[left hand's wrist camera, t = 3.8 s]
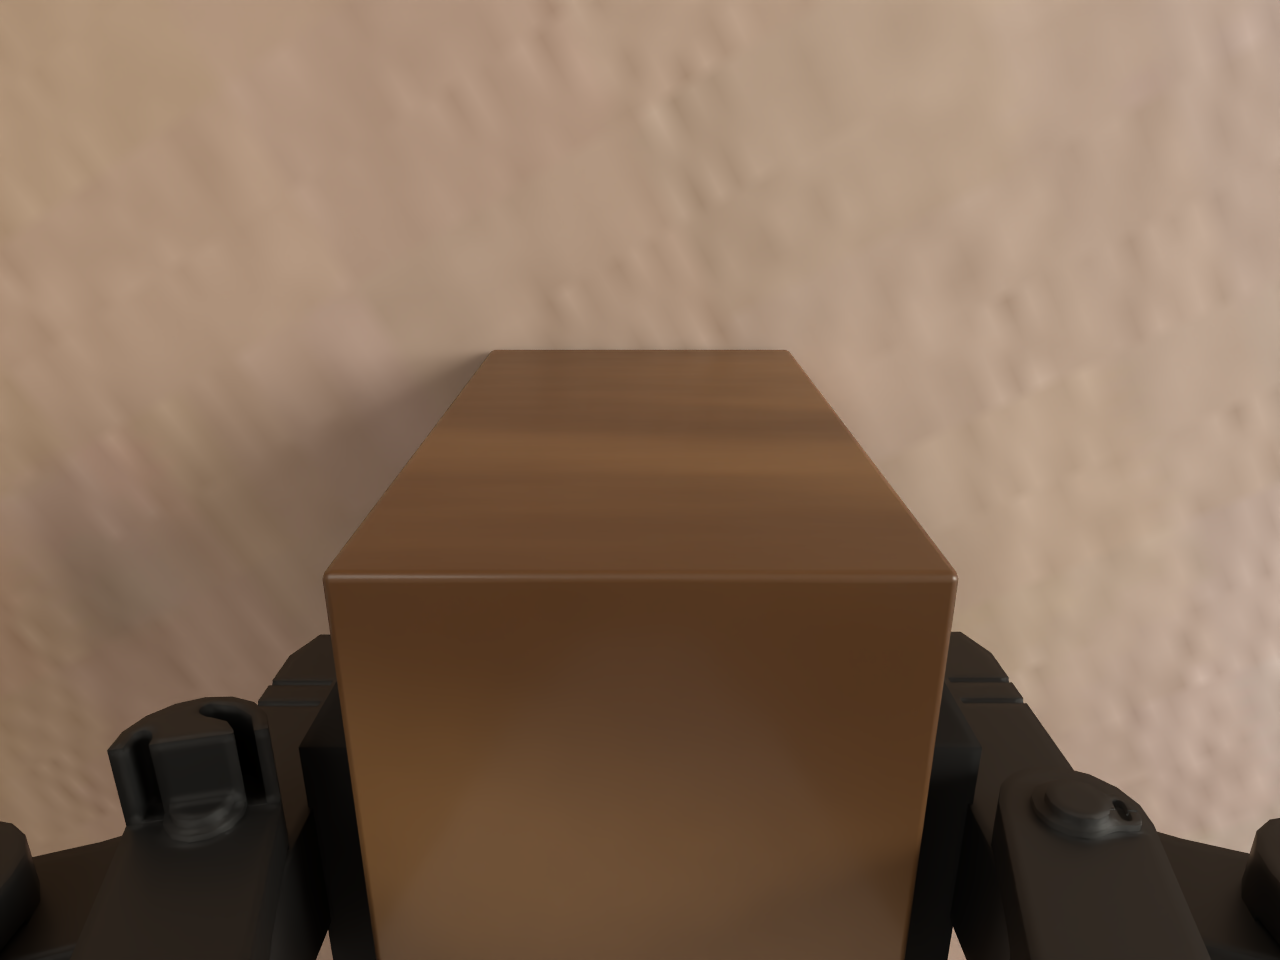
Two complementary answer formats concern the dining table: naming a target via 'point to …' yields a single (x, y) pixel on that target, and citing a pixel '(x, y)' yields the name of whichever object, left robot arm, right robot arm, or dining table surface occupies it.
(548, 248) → the dining table surface
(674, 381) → the bar
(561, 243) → the dining table surface
